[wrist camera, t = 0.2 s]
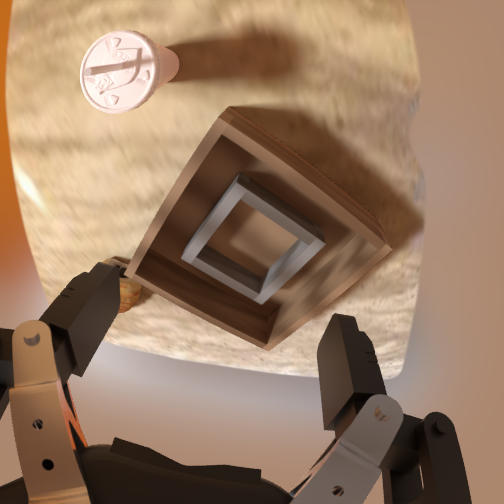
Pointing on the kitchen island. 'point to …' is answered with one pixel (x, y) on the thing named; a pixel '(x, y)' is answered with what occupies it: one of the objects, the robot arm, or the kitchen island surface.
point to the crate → (255, 236)
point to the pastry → (126, 286)
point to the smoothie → (125, 70)
